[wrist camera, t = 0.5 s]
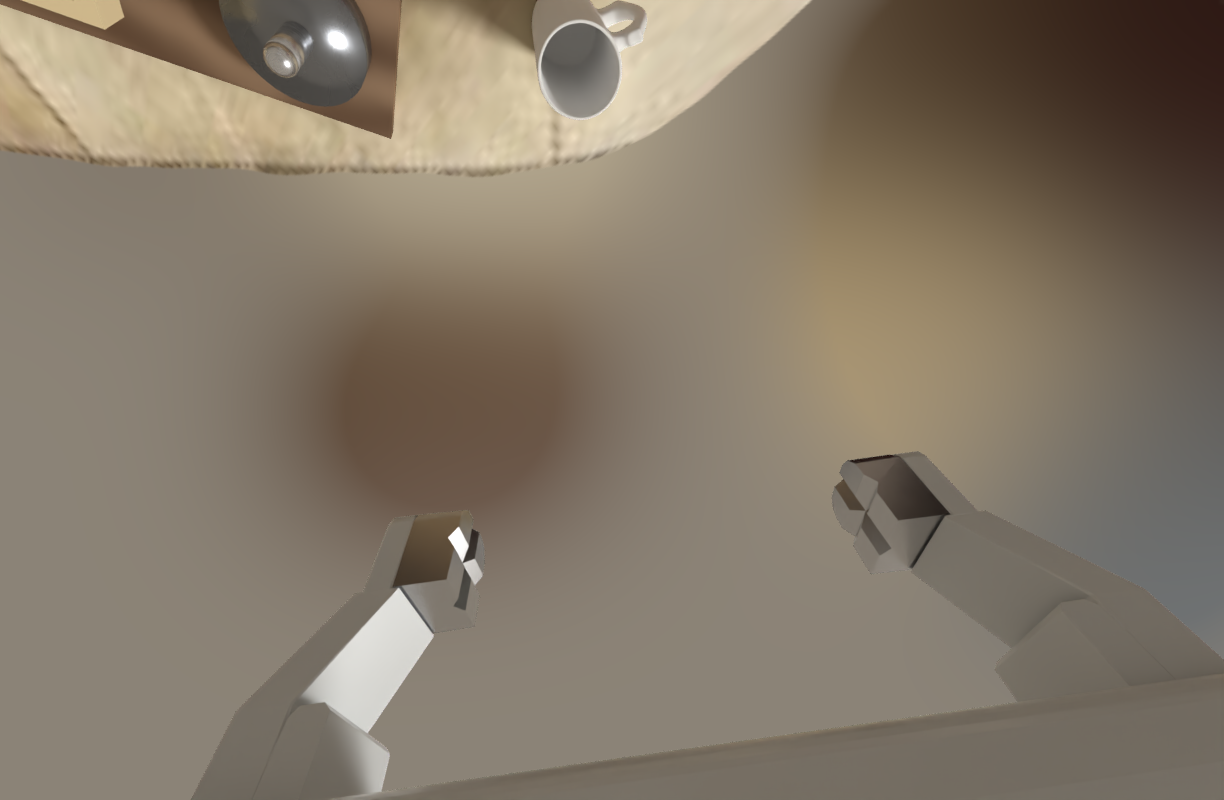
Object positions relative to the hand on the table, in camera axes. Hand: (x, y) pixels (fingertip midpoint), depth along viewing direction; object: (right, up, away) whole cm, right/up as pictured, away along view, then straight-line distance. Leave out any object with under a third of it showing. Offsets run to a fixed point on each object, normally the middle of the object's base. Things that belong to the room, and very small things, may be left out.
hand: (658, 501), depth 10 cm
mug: (-4, +39, +32) cm, 50 cm away
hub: (-27, +34, +28) cm, 52 cm away
